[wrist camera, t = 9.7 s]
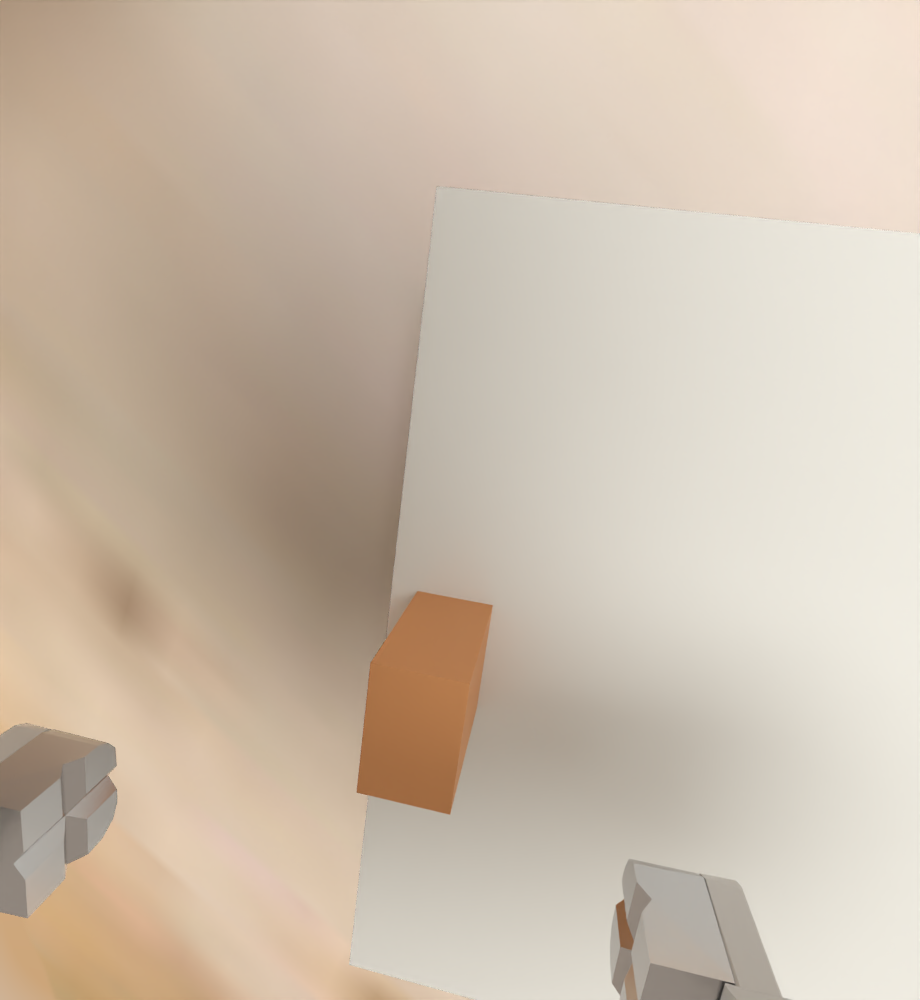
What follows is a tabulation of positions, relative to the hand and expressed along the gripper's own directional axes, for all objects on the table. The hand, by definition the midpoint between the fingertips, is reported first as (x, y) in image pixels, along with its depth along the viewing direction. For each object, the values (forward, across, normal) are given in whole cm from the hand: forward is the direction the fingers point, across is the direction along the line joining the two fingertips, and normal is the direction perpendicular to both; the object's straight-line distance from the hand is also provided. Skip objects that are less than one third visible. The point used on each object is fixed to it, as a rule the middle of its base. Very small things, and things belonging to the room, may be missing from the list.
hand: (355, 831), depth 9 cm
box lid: (+8, -9, 0) cm, 12 cm away
